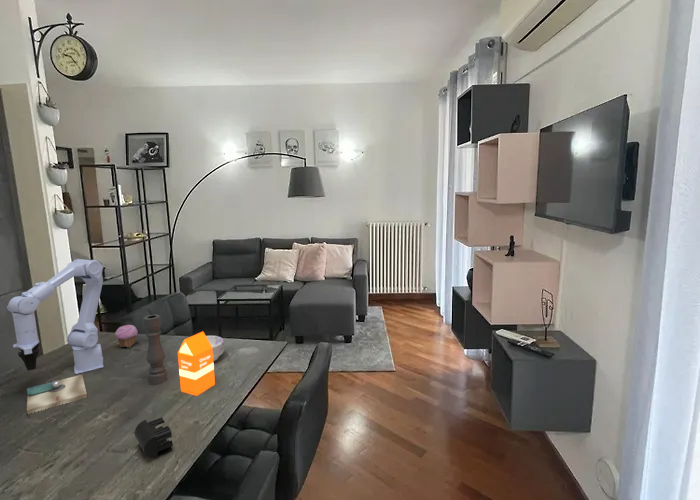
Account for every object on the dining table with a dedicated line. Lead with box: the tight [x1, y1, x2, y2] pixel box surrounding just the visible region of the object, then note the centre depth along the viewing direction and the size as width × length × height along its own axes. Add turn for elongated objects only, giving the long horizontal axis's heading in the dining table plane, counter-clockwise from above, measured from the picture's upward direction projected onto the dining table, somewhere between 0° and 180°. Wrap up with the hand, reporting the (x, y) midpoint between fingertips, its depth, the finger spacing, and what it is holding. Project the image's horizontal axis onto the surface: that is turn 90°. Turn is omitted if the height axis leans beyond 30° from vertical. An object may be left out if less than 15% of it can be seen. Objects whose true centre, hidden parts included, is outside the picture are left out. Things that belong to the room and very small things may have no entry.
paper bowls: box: [206, 335, 225, 362], centre depth 162 cm, size 15×15×8 cm
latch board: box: [26, 374, 88, 415], centre depth 136 cm, size 16×18×2 cm
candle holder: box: [142, 313, 168, 386], centre depth 143 cm, size 6×6×25 cm
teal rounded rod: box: [26, 379, 61, 396], centre depth 135 cm, size 9×2×2 cm, turn 129°
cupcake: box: [114, 324, 138, 349], centre depth 176 cm, size 9×9×10 cm
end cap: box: [134, 416, 174, 459], centre depth 107 cm, size 10×7×7 cm
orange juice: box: [177, 330, 216, 397], centre depth 138 cm, size 8×9×20 cm
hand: (31, 366), depth 137 cm, fingers open, 5 cm apart
